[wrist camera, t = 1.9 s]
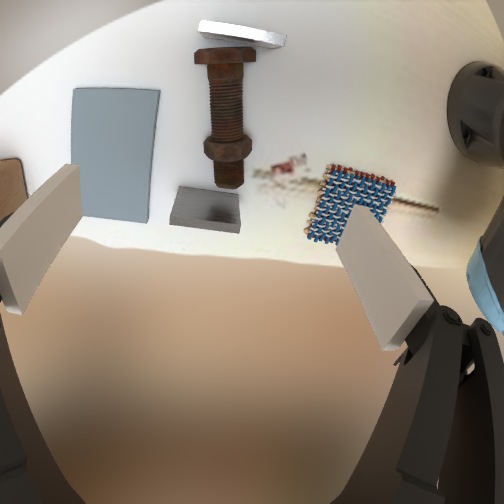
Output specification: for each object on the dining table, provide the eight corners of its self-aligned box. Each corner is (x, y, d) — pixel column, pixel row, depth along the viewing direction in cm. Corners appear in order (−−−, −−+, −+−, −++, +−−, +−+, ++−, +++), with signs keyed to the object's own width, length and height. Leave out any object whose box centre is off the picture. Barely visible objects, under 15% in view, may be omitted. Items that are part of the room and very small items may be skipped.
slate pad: (160, 90, 27) (158, 91, 27) (148, 219, 36) (146, 223, 36) (76, 88, 26) (73, 89, 25) (77, 211, 35) (74, 215, 34)
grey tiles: (273, 40, 25) (286, 35, 20) (236, 202, 36) (239, 233, 31) (205, 28, 24) (200, 20, 18) (178, 194, 35) (169, 224, 29)
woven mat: (395, 179, 36) (402, 185, 35) (366, 244, 42) (371, 252, 41) (325, 158, 34) (331, 164, 33) (300, 232, 40) (303, 241, 39)
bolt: (222, 171, 36) (218, 48, 27) (261, 178, 34) (262, 46, 25) (195, 191, 32) (184, 50, 22) (237, 200, 30) (233, 46, 21)
